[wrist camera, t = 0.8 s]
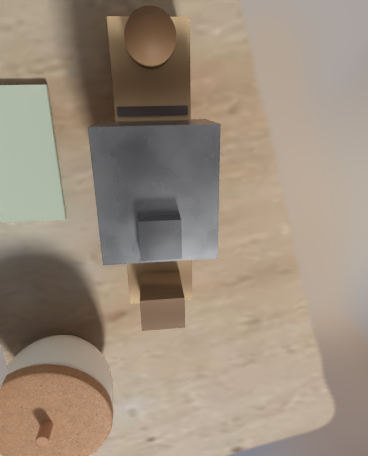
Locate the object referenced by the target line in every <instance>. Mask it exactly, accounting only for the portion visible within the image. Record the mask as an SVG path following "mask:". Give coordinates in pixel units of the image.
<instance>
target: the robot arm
mask: <svg viewBox="0 0 368 456" xmlns="http://www.w3.org/2000/svg"><path fill="white" fill-rule="evenodd" d="M7 373H8V370H7V366H6V363H5V359H4V355H3V352H2V348H1V344H0V387H1V385H2V383H3V381H4V379H5V377H6V375H7Z"/></svg>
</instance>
